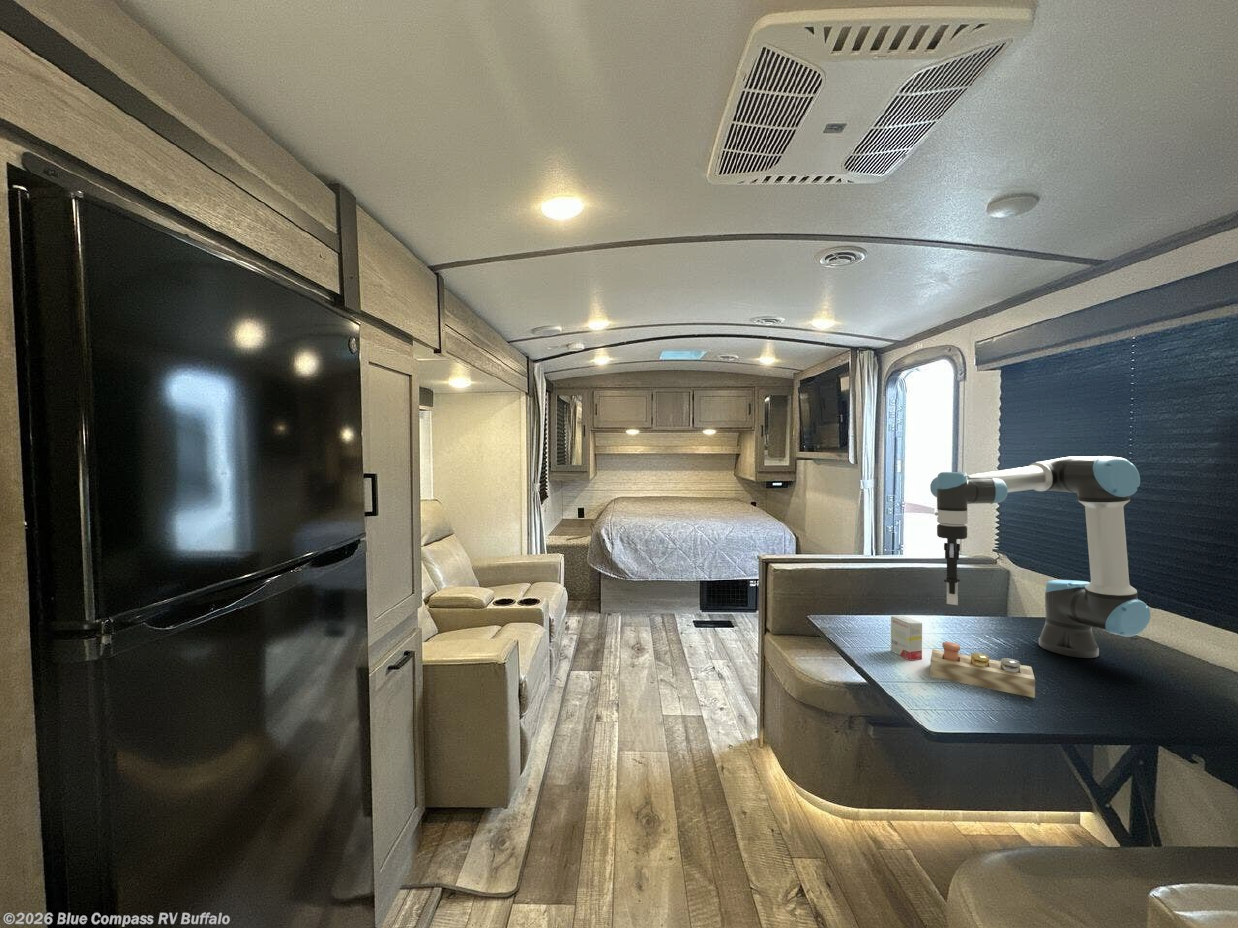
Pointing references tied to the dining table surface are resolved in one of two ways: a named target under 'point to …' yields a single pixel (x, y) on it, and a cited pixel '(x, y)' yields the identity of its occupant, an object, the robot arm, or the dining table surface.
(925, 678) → the dining table surface
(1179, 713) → the dining table surface
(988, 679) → the plunger block
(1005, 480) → the robot arm
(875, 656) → the dining table surface
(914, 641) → the ink box
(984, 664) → the plunger brass
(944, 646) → the plunger terracotta
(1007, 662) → the plunger grey
